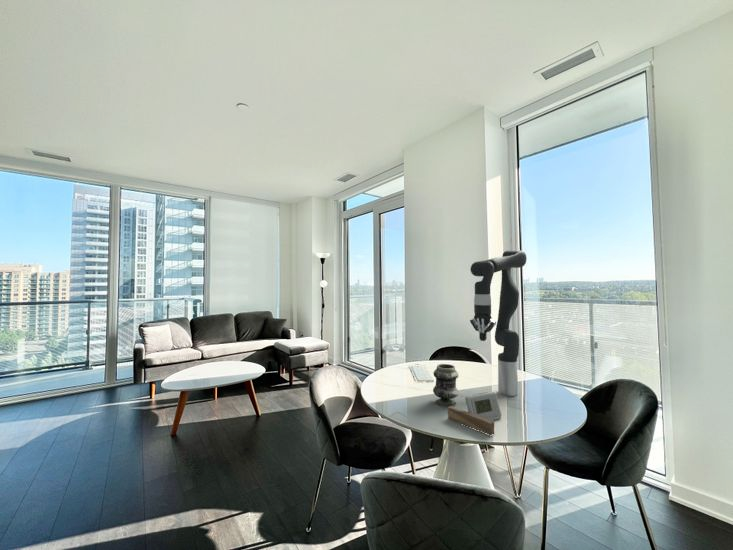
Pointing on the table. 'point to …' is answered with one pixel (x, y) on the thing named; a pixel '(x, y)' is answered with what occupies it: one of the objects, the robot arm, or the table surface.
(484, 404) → the digital clock
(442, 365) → the stone urn vase
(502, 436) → the table surface
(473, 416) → the walnut board
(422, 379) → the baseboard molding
